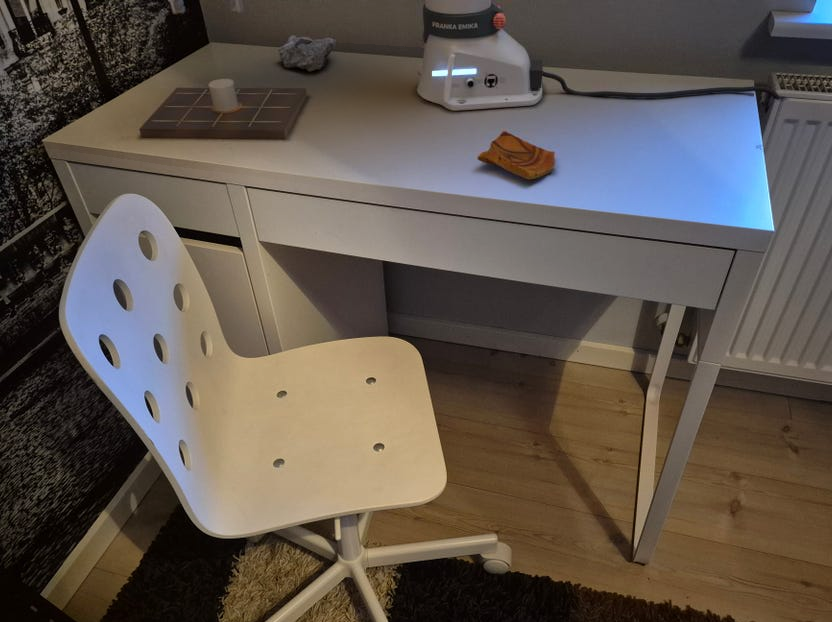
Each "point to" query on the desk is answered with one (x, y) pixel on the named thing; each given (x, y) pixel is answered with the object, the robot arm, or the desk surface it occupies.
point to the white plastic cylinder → (223, 95)
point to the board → (226, 114)
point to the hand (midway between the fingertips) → (208, 12)
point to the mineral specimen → (306, 52)
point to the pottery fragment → (518, 156)
